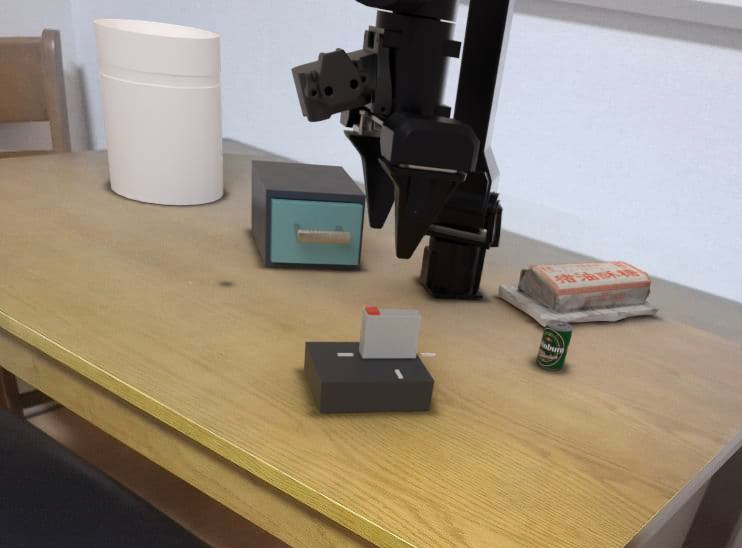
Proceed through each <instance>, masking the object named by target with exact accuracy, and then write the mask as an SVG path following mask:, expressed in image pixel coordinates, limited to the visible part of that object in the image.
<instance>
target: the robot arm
mask: <svg viewBox="0 0 742 548" xmlns="http://www.w3.org/2000/svg"><path fill="white" fill-rule="evenodd" d="M354 1H355V2H357V3H359V4H362V5H363V6H365V7H368V8H373V9H377V10H376V16H375V25H368V29H365V30H364V33H363V43H362V48H361V49H357V50H353V51H349V52H346V50H345V49H343V48H340V47H336V48H335V50H333V51H330V52H319V54H318V57H317V60H315V61H311V62H307V63H304V64H300V65H297V66H294V67H292V68H291V69H290V70H291V74H292V79H293V82H294V86H295V91H296V93H297V98H298V103H299V106H300V111H301V114H302V116H303V117H306V119H307V122H309V123H319V122H322V121H323V122H324V121H326V120H330V119H331V117H332V116H333V115H336V114H340V117H339V123H340V124H341V125H342V126H343V127H345V128H349V129H343V134H344V136H345V137H346V138H347V139H348V140H349V142H350V144H351V145H352V146H353V147H354V149H355V151H357V153H358V154H359V156H360V159H361V166H362V174H363V182H364V183H363V184H364V191H365V192H364V193H365V195H366V208H367V209H366V210H367V217H368V225H369V227H370V228H371V229H374V230H382V229H383V227H384V225H385V223H386V221H387V219H388V216H389V215H390V213H391V211H392V207H393V205H394V245H395V256H396V258H397V259H400V260H411V258H412V256H413V255H414V253H415V251H416V250H417V249H418V247H419V245H420V243H421V242H422V240H423V239H424V237H425V236H426V237H427V236H428V237H429V241H428V245H425V246H424V248H423V252H422V253H423V255H422V261H421V268H420V274H419V278H418V280H419V281H420V282H421V283H422V285H423V286H424V288H426V290H427V291H428V293H429V294H430V295H431V296H432V298H433V297H434V298H439V299H480V300H481V299H484V295H485V294H484V292H482V290H480V285H481V282H482V281H481V280H482V274H483V271H484V264H485V260H486V254H487V251H489V250H490V249H491V248H499V247H500V244H501V243H500V242H501V237H502V232H503V231H502V230H503V220H504V208H503V205H502V194H501V193H499V192H498V189H499V182H500V178H501V177H500V176H501V174H500V170H499V167H498V164H497V161H496V158H495V156H494V151H493V149H492V139H493V133H494V128H495V122H496V115H497V110H498V104H499V99H500V92H501V86H502V82H503V81H502V80H503V76H504V69H505V64H506V59H507V52H508V45H509V39H510V36H511V30H512V23H513V17H514V11H515V6H516V0H469V2H468V10H467V17H466V23H465V31H464V38H463V42H462V41H459V40H454V38H455V32H456V31H455V30H456V25H457V24H456V22H457V17H458V10H459V5H460V0H354ZM462 44H463V46H462ZM461 49H462V52H461ZM460 55H461V59H460ZM451 58H453V59H460V65H459V66H460V67H459V73H458V81H457V86H456V87H457V88H456V95H455V101H454V102H455V103H454V110H453V115H452V108H453V107H452V106H449V105H447V104H445V98H446V91H447V85H448V78H449V71H450V64H451ZM451 115H452V116H453V117H451ZM350 129H351V130H350ZM485 230H486V231H485Z"/></svg>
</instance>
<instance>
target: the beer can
mask: <svg viewBox="0 0 742 548" xmlns="http://www.w3.org/2000/svg"><path fill="white" fill-rule="evenodd" d="M546 324H547V325H546V326H545V327H544V329H543V333H542V335H541V340H540V345H539V348H538V352H537V357H536V363H537V364H538V366H539V367H541V368H542V369H544V370H547V371H558V370H561V369H562V368H563V367H564V365H565V362H566V358H567V353H568V350H569V347H570V343H571V339H572V335H573V329H574V328H573V326H572V325H571V323H566V322H563V321H559V320H550V321H548V322H547V323H546Z"/></svg>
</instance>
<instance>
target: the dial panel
mask: <svg viewBox="0 0 742 548" xmlns="http://www.w3.org/2000/svg"><path fill="white" fill-rule="evenodd" d="M359 344H360V341H305V342H304V345H305V346H304V360H303V361H304V362H303V363H304V365H303V372H304V375H305V377H306V381H307V384H308V385H309V388H310V391H311V393H312V396H313V398H314V401H315V404H316V407H317V409H318V412H319V414H344V413H345V414H346V413H347V414H348V413H382V412H383V413H384V412H385V413H386V412H425V411H430V410H431V405H432V400H433V399H432V398H433V392H434V385H435V379H434V378H433V376H432V374H431V373H430V372H429V370H428V368H427V366H426V365H425V364H424V362H423V360H422V359H421V358H420V357H436V356H437V355H436V353H435V352H420V353H419V354H420V356H419V354H418V353H416V358H377V359H363V358H362V356H361V354H360V352H359Z"/></svg>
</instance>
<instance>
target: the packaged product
mask: <svg viewBox="0 0 742 548" xmlns="http://www.w3.org/2000/svg"><path fill="white" fill-rule="evenodd" d="M651 283H652V279H651V278H650V275H649V274H648V272H646V271H643V269H640V268H638V267H636V266H634V265H633V264H631V263H628V262H626V261H623V260H622V261H621V260H618V261H617V260H614V261H590V262H589V261H588V262H574V263H572V262H571V263H559V264H558V263H554V264H537V265H528V266H524V267H523V268H522V269H521V270H520V274H519V280H518V282H514V283H512V282H511V283H499V284H498V297H499V298H501V299H503V300H505V302H507V303H509V304H510V305H513V306H514V307H516V308H518V309H519V310H520V311H522V312H524V313H525V314H526V315H529V316H530V317H532V318H533V319H534V320H535V321H536V322H537V323H538V324H539V325H540V326H542V327H543V328H545V326H546V325H547V324H546V323H547V322H548V321H550V320H559V321H563V322H566V323H568V324H571V323H585V322H586V323H587V322H600V321H601V322H617V321H619V320H622V319H625V318H634V317H642V316H653V315H656V314H657V313H658V312H659V310H660V309H659V307H657V306H656V305H654V304H652V303H650V302H649V301H647V299H648V298H650V294H651V293H652V292H651Z"/></svg>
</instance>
